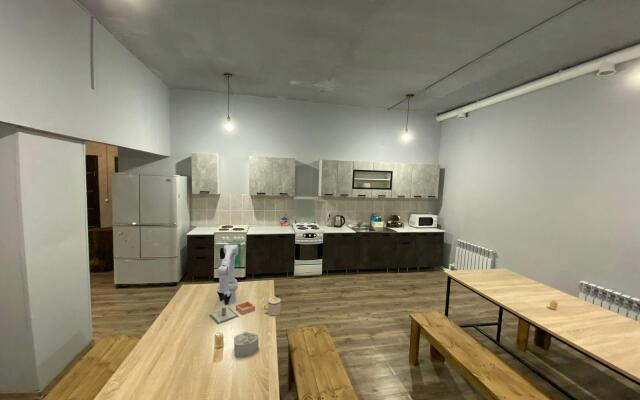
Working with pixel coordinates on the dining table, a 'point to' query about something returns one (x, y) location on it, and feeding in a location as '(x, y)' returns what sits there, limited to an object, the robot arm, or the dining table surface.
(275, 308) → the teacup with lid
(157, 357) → the dining table surface
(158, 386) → the dining table surface
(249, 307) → the dish
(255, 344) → the lumpy-topped squat cylinder
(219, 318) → the lid
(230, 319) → the mat
